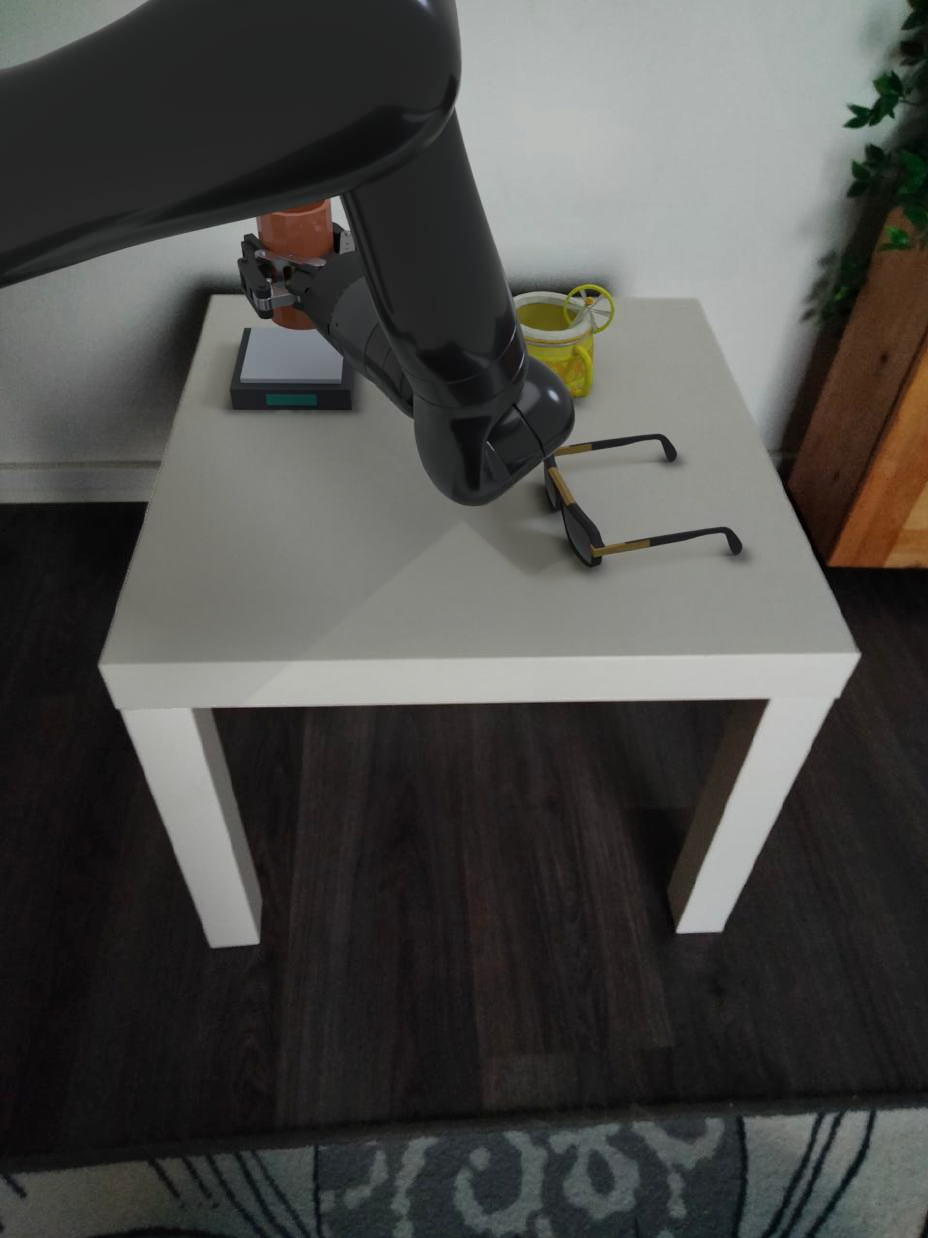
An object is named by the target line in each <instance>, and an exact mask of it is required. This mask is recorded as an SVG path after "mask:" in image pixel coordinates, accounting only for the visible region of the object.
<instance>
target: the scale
mask: <svg viewBox="0 0 928 1238" xmlns="http://www.w3.org/2000/svg"><path fill="white" fill-rule="evenodd" d="M355 372H356V370H355V369H354V368H353V367H352V366H351V365H350V364H349V363H348V362H347V361H346V360H345V359H344V358H343V357H342V356H341V355H340V354H339V353H338V352H337V351H336V350H335V349H334V348H333V347H332V346H331V345H330V343H329V342H328V341H327V340H326V339H325V338H324V337H323V336H322V335H321V334H320V333H319V332H318V331H317V330H316V329H312V330H292V329H287V328H284V327H269V326H268V327H262V326H261V327H260V326H256V327H255V326H252V327H244V328H243V331H242V335H241V340H240V343H239V348H238V353H237V356H236V361H235V365H234V368H233V373H232V378H231V381H230V386H229V393H230V399H231V400H230V401H231V404H232V405H231V406H232V409H233V410H328V411H329V410H330V411H331V410H335V411H336V410H337V411H339V410H341V411H343V410H344V411H346V410H347V411H350V410H351V411H352V410H353V402H354V401H353V399H354V385H355Z"/></svg>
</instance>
